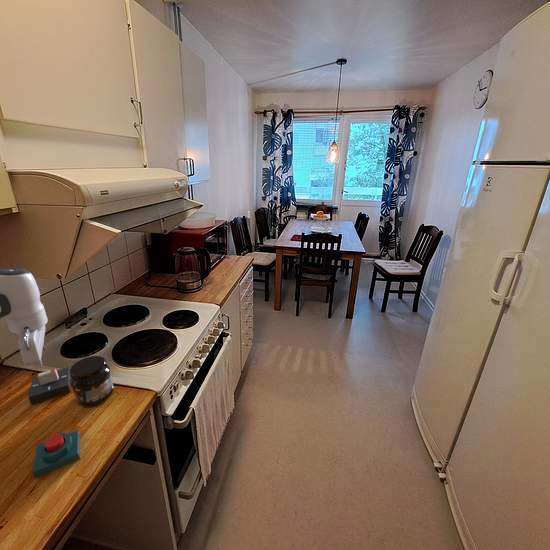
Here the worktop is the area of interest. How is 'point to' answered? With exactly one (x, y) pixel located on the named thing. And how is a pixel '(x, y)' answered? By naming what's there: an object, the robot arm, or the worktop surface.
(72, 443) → the teal square base
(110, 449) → the worktop surface
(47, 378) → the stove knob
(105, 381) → the supplement container
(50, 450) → the timer button
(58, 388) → the stove panel
